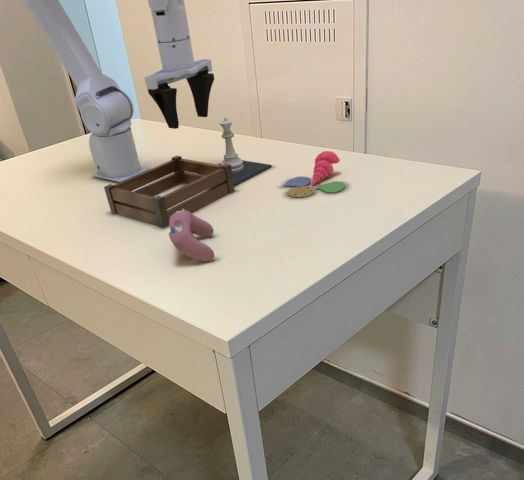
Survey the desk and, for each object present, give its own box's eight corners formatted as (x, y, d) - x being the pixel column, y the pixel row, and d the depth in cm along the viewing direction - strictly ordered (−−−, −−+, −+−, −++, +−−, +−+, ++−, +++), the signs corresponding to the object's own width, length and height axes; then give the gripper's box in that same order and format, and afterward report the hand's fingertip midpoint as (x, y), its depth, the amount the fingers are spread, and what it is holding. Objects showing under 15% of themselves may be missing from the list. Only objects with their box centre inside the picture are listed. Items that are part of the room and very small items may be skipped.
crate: (111, 212, 98) (103, 186, 95) (181, 179, 108) (176, 155, 105) (164, 228, 90) (157, 199, 87) (234, 190, 100) (231, 164, 97)
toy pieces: (289, 173, 104) (287, 150, 101) (348, 171, 101) (348, 147, 99) (277, 198, 94) (275, 173, 92) (342, 196, 92) (342, 170, 89)
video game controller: (192, 245, 87) (164, 211, 83) (216, 230, 85) (188, 194, 82) (191, 275, 79) (160, 238, 75) (217, 258, 78) (186, 220, 74)
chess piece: (222, 167, 110) (214, 115, 104) (244, 165, 109) (237, 112, 103) (220, 175, 106) (212, 121, 100) (243, 173, 106) (235, 118, 100)
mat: (193, 178, 108) (193, 176, 108) (231, 160, 114) (231, 158, 114) (234, 186, 102) (234, 184, 102) (271, 166, 108) (271, 164, 108)
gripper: (157, 48, 88) (174, 135, 96) (219, 31, 96) (230, 113, 104) (129, 47, 92) (148, 131, 100) (191, 32, 100) (204, 110, 108)
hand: (188, 122), depth 102 cm, fingers open, 7 cm apart
